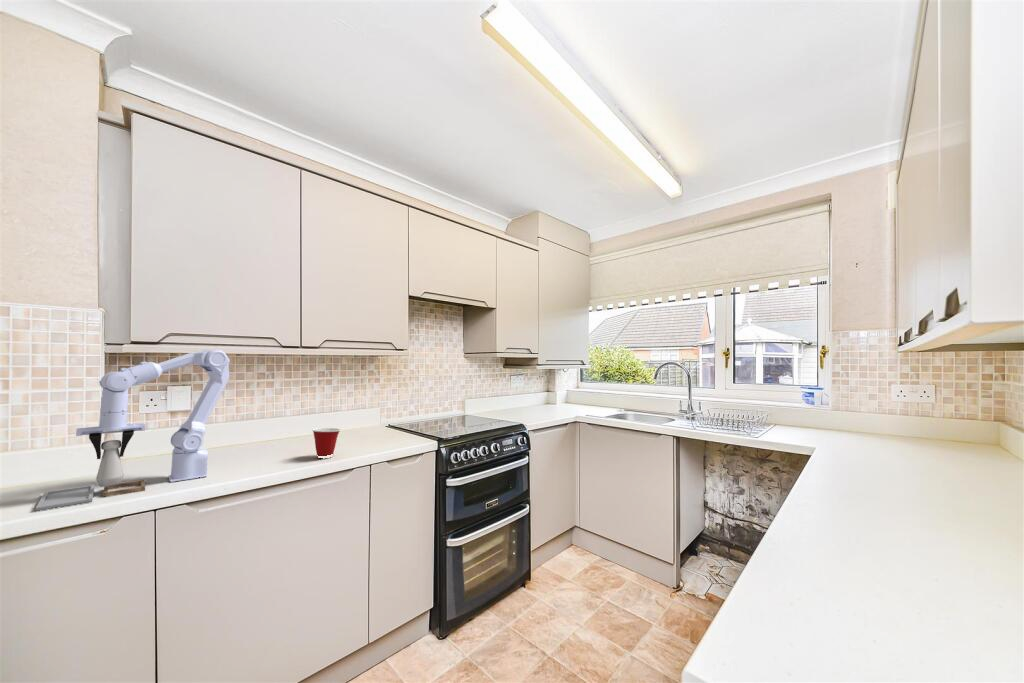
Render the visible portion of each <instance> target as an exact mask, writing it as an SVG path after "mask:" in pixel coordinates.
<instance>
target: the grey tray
mask: <svg viewBox="0 0 1024 683" xmlns="http://www.w3.org/2000/svg"><path fill="white" fill-rule="evenodd" d="M95 487H96V485H95V484H90V485H89V484H88V485H84V486H77V487H70V488H63V489H57V490H50V491H49V490H48V491H44V492H43V494H42V496H41V498H40V500H39V502H38V503H37V505H36V507H35V512H36V511H37V512H41V511H40V510H43V511H48V510H47V509H49V510H54V509H53V508H55V509H59V508H58V507H61V508H65V507H64V506H68V507H72V506H71V505H74V506H78V505H77V504H80V505H83V504H82V503H86V504H90V503H89V502H93V498H94V494H95V490H94V489H96V488H95Z"/></svg>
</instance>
